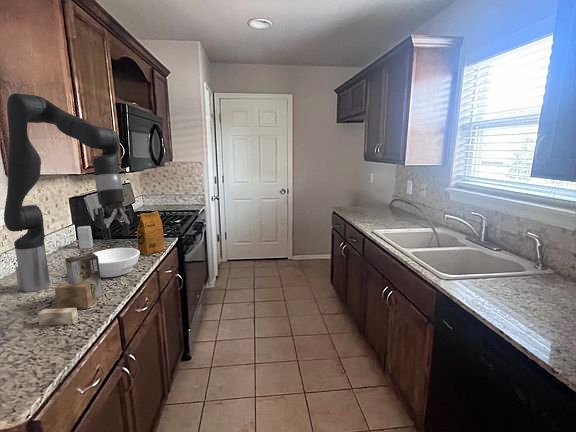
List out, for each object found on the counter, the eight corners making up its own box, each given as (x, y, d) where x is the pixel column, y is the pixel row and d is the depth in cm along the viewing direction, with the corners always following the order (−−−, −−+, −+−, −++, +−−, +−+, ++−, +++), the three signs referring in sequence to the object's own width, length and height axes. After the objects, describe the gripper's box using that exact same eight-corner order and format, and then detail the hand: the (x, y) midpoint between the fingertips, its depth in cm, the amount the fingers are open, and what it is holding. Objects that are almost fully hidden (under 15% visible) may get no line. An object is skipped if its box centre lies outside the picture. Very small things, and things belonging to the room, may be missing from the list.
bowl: (76, 274, 146) (74, 256, 144) (126, 261, 163) (125, 245, 162) (99, 286, 132) (97, 267, 131) (151, 270, 150) (149, 253, 148)
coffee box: (96, 291, 127) (92, 252, 124) (103, 296, 123) (98, 255, 120) (70, 299, 121) (64, 258, 117) (76, 304, 116) (70, 261, 113)
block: (57, 309, 112) (54, 287, 111) (66, 302, 117) (63, 281, 116) (88, 308, 113) (85, 286, 112) (95, 301, 118) (93, 280, 117)
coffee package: (135, 252, 177) (132, 212, 172) (157, 247, 186) (154, 209, 182) (145, 256, 170) (141, 215, 166) (166, 250, 180) (163, 211, 176)
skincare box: (93, 245, 189) (91, 225, 187) (91, 247, 185) (89, 227, 183) (81, 246, 187) (78, 226, 185) (79, 248, 183) (76, 228, 181)
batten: (39, 325, 103) (37, 313, 102) (45, 320, 105) (43, 309, 105) (73, 323, 104) (71, 312, 103) (78, 319, 106) (76, 307, 106)
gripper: (116, 189, 114) (123, 235, 115) (82, 190, 100) (90, 242, 101) (134, 187, 112) (141, 233, 113) (102, 188, 98) (111, 240, 100)
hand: (117, 237), depth 107 cm, fingers open, 8 cm apart
